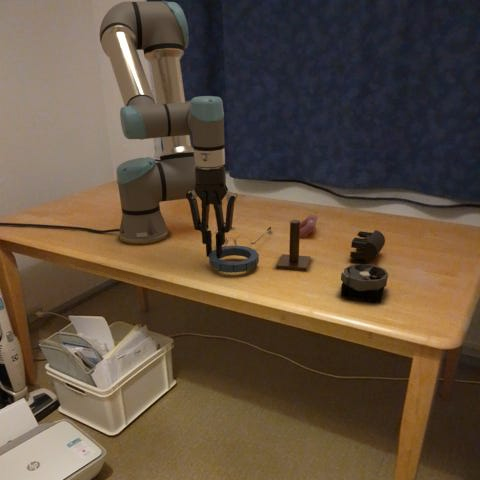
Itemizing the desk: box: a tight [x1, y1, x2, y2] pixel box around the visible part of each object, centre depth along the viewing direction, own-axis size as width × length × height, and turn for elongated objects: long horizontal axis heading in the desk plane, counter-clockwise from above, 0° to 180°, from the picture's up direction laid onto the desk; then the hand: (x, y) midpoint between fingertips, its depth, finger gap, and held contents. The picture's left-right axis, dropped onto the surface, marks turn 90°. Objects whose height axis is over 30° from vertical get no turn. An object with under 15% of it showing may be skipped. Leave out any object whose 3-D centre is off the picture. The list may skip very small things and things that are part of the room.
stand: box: [276, 219, 312, 272], centre depth 128 cm, size 8×8×12 cm
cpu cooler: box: [340, 263, 389, 304], centre depth 113 cm, size 10×6×10 cm
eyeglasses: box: [211, 221, 272, 247], centre depth 147 cm, size 16×19×5 cm
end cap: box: [349, 229, 386, 265], centre depth 131 cm, size 10×7×7 cm
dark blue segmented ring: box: [208, 245, 260, 274], centre depth 128 cm, size 13×13×2 cm
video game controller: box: [300, 213, 319, 239], centre depth 150 cm, size 10×5×7 cm, turn 168°
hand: (214, 255), depth 129 cm, fingers closed on dark blue segmented ring, 2 cm apart
